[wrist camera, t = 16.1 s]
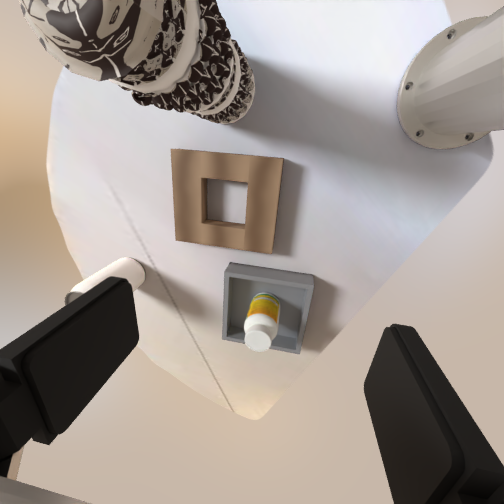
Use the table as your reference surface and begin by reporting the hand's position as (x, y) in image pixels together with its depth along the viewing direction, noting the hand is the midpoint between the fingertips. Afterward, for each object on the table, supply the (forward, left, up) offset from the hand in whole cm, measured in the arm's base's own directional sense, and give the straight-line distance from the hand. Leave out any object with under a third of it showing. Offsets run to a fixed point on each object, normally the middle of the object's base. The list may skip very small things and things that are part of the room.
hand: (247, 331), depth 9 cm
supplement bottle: (+1, +20, -30) cm, 36 cm away
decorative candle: (+10, -13, -31) cm, 35 cm away
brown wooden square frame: (+9, +2, -30) cm, 32 cm away
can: (+28, +18, -31) cm, 45 cm away
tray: (+1, +20, -30) cm, 36 cm away
